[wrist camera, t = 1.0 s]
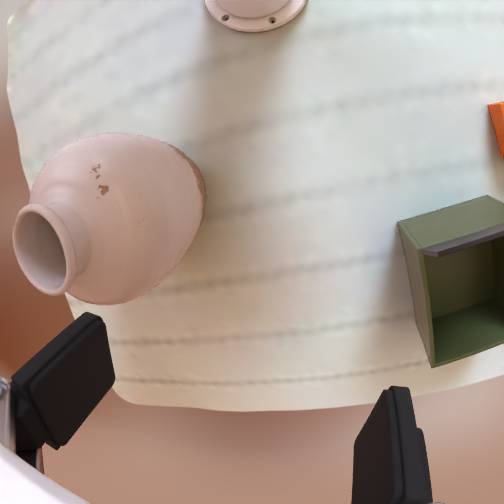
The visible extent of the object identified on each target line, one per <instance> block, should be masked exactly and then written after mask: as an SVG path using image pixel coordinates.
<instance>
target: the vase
mask: <svg viewBox="0 0 504 504" xmlns="http://www.w3.org/2000/svg"><path fill="white" fill-rule="evenodd" d="M205 197H206V193H205V185H204V181H203V178H202V175H201V173H200V171H199V169H198V168H197V166H196V165H195V164H194V163H193V162H192V161H191V160H190V159H189V158H188V157H187V156H186V155H185V154H184V153H182V152H181V151H180V150H178V149H177V148H175V147H173V146H171V145H169V144H167V143H165V142H163V141H160V140H157V139H153V138H150V137H145V136H141V135H136V134H129V133H104V134H97V135H92V136H88V137H85V138H82V139H80V140H77V141H75V142H73V143H70V144H68V145H67V146H65V147H64V148H62V149H61V150H59V151H58V152H56V153H55V154H54V155H53V156H52V157H51V158H50V159H49V160H48V161H47V162H46V163H45V164H44V166H43V167H42V169H41V171H40V172H39V174H38V176H37V177H36V180H35V182H34V184H33V187H32V191H31V194H30V201H29V205H27V206H25V207H23V208H22V209H21V210H20V212H19V213H18V214H17V216H16V218H15V221H14V225H13V234H12V235H13V246H14V250H15V254H16V258H17V260H18V263H19V265H20V267H21V269H22V271H23V273H24V274H25V275H26V277H27V278H28V280H29V281H30V282H31V283H32V284H33V285H34V286H35V287H36V288H37V289H38V290H40V291H42V292H43V293H46V294H48V295H53V296H57V295H61V294H63V293H65V292H67V293H69V294H70V295H71V296H73V297H75V298H77V299H79V300H81V301H84V302H86V303H91V304H96V305H116V304H121V303H125V302H128V301H131V300H133V299H135V298H138V297H140V296H142V295H144V294H145V293H147V292H148V291H150V290H151V289H153V288H154V287H156V286H157V285H158V284H159V283H160V282H162V281H163V280H164V279H165V278H166V277H167V276H168V275H169V273H170V272H171V271H172V270H173V269H174V268H175V267H176V266H177V264H178V263H179V262H180V260H181V259H182V257H183V256H184V254H185V253H186V251H187V249H188V248H189V246H190V245H191V243H192V241H193V240H194V238H195V235H196V233H197V231H198V229H199V226H200V224H201V221H202V217H203V213H204V207H205Z"/></svg>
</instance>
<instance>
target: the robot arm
mask: <svg viewBox="0 0 504 504" xmlns="http://www.w3.org/2000/svg"><path fill="white" fill-rule="evenodd" d="M204 1H205V4H206V7H207V9H208V10H209V12H210V14H211V15H212V16H213V17H214V18H215V19H216V20H218V21H219V22H220V23H221V24H223V25H225V26H227V27H229V28H231V29H235V30H238V31H244V32H261V31H267V30H271V29H274V28H277V27H280V26H281V25H283V24H286V23H287V22H289V21H290V20H292V19H293V18H294V17H296V15H297V14H298V13H299V12H300V11H301V10H302V9H303V7H304V5H305V4H306V1H307V0H204ZM226 19H228V20H227V21H226ZM272 21H275V23H271V22H272ZM11 379H12V382H11V383H9V381H8V380H7V379H6V378H5V377H3V376H0V504H91V503H89V502H87V501H85V500H83V499H82V498H80V497H78V496H77V495H75V494H73V493H72V492H70V491H68V490H67V489H65V488H63V487H62V486H60V485H59V484H57V483H56V482H54V481H52V480H51V479H49V478H48V477H47V476H45V475H44V466H43V455H42V446H43V444H44V443H45V442H46V444H48V445H49V446H51V447H52V448H54V449H55V450H58V449H59V448H60V446H64V445H66V444H67V443H68V441H69V440H70V439H71V437H72V436H73V435H74V433H75V432H76V431H77V430H78V428H79V427H80V426H81V425H82V423H83V422H84V421H85V419H86V418H87V417H88V416H89V414H90V413H91V412H92V411H93V409H94V408H95V407H96V406H97V404H98V403H99V402H100V400H101V399H102V398H103V397H104V396H105V394H106V393H107V392H108V390H109V389H110V388H111V387H112V386H113V384H114V382H115V373H114V368H113V363H112V358H111V353H110V348H109V342H108V337H107V331H106V325H105V323H104V322H103V320H102V318H101V317H100V316H97V315H95V314H92V313H89V312H85V313H83V314H82V315H81V316H80V317H78V318H77V319H76V320H75V321H74V322H73V323H71V324H70V325H69V326H68V327H67V328H66V329H64V330H63V331H62V332H61V333H60V334H59V335H57V336H56V337H55V338H54V339H53V340H52V341H50V342H49V343H48V344H47V345H46V346H45V347H44V348H43V349H42V350H40V351H39V352H38V353H37V354H36V355H35V356H34V357H32V358H31V359H30V360H29V361H28V362H27V363H26V364H25V365H24V366H22V367H21V368H20V369H19V370H18V371H17V372H16V373H15V374H14V375H13V376H12V377H11ZM353 461H354V462H353V485H352V502H351V504H444V503H440V502H434V503H433V499H432V490H431V482H430V473H429V466H428V459H427V452H426V446H425V441H424V435H423V432H422V430H421V429H420V428H417V426H416V421H415V415H414V410H413V404H412V399H411V394H410V390H409V388H408V387H399V386H390V387H389V389H388V390H383V392H382V393H381V395H380V397H379V399H378V401H377V403H376V405H375V407H374V408H373V410H372V412H371V414H370V416H369V417H368V419H367V421H366V423H365V424H364V426H363V428H362V430H361V431H360V433H359V435H358V436H357V438H356V440H355V443H354V460H353Z"/></svg>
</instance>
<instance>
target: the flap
mask: <svg viewBox="0 0 504 504" xmlns="http://www.w3.org/2000/svg"><path fill="white" fill-rule="evenodd" d="M502 236H504V223H501V224H498V225H496V226H493V227H490V228H486V229H483V230H480V231H477V232H474V233H471V234H468V235H465V236H462V237H459V238H456V239H452V240H449V241H446V242H443V243H440V244H436V245H433V246H430V247H426V248H423V249H420V250H419V252H420V254H423V255H429V256H435V257H442V256H445V255H448V254H451V253H454V252H457V251H461V250H464V249H467V248H470V247H473V246H476V245H479V244H482V243H485V242H488V241H491V240H494V239H496V238H499V237H502Z"/></svg>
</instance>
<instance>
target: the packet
mask: <svg viewBox="0 0 504 504" xmlns="http://www.w3.org/2000/svg"><path fill="white" fill-rule="evenodd" d="M488 107H489V111H490V114H491V118H492V121H493V125H494V129H495V133H496V137H497V141H498V145H499V150H500V154H501V156H503V157H504V102H500V103H495V104H490V105H488Z"/></svg>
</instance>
